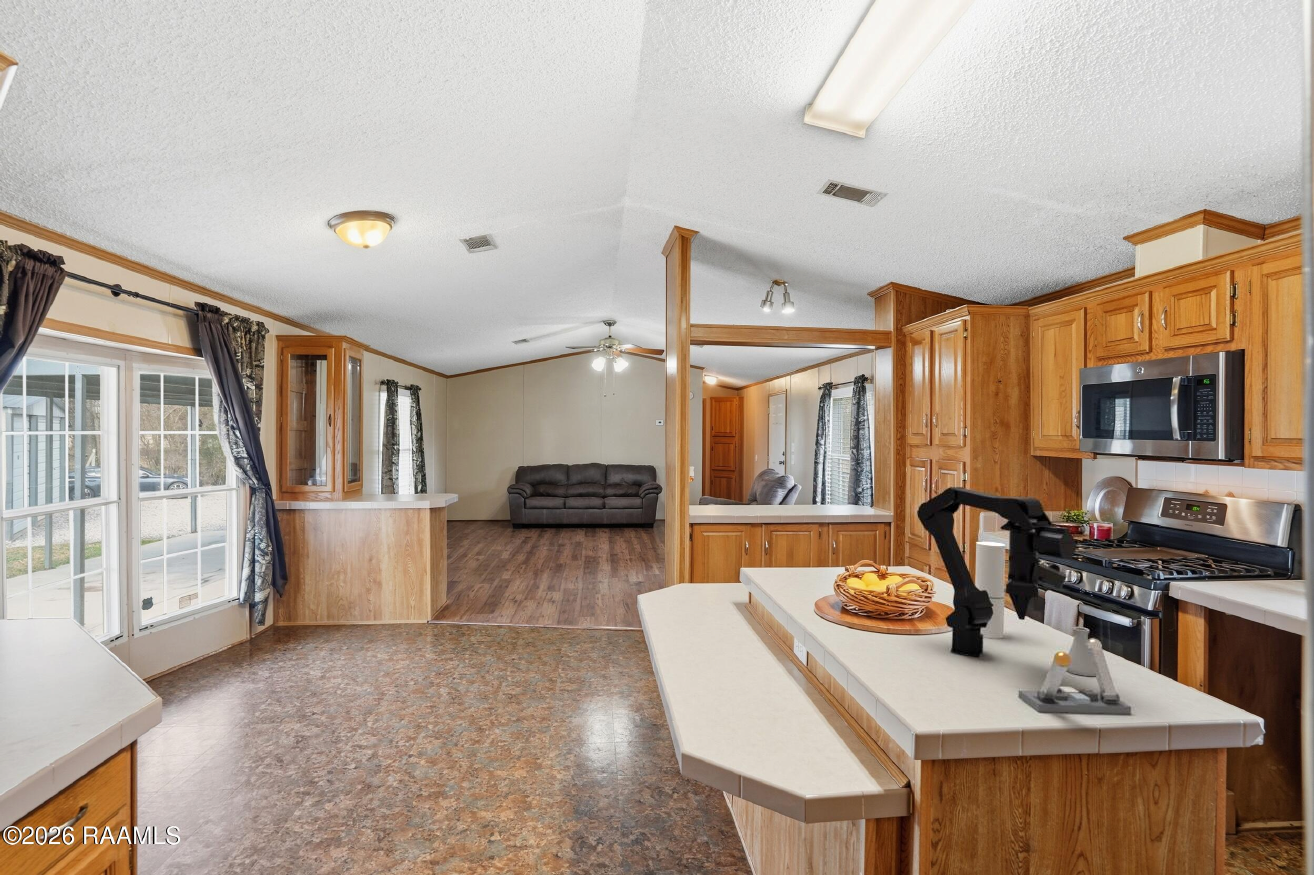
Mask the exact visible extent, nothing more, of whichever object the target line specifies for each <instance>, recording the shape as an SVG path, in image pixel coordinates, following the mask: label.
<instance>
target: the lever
mask: <svg viewBox="0 0 1314 875" xmlns="http://www.w3.org/2000/svg"><path fill="white" fill-rule="evenodd" d="M1086 648H1087V649H1088V652H1089V655H1090V658H1091V662H1092V665H1093V668H1094V672H1095V675H1096V676H1095V678H1096V682H1097V684H1098V685H1097V686H1098V687H1099V690H1100V691H1099V692H1101V693H1100V698H1101V700H1102V701H1111V702H1119V700H1120V698H1121V697H1120V695H1119V694H1118V692H1117V691H1116V688H1115V684H1114V682H1113V680H1112V676H1111V672H1110V669H1109V667H1108V663H1107V660H1106V657H1105V654H1104V650H1103V645H1102V643H1101V641H1100V640H1099V639H1097V638H1095V637H1091V638H1088V640H1087V641H1086ZM1120 701H1121V700H1120Z"/></svg>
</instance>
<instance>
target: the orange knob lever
mask: <svg viewBox="0 0 1314 875" xmlns="http://www.w3.org/2000/svg"><path fill="white" fill-rule="evenodd" d="M1070 664H1071V658H1070V656H1069V655H1068V653H1067V652H1064V651H1058V652H1056V653H1055V654H1054V656H1053V661H1052V662H1051V665H1050V667H1049V670H1048V672H1047V675H1046V677H1045V679H1044V681H1043V682H1042V685H1041V688H1040V690H1037V691H1038V692H1037V696H1038V698H1039V699H1040V700H1055V699H1056V692H1057V690H1058V688H1059V687H1061V686H1060V685H1061V683H1062V682H1063V679H1064V677H1065V674H1066V672H1067V671H1066V670H1067V668H1068V666H1069V665H1070Z"/></svg>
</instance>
